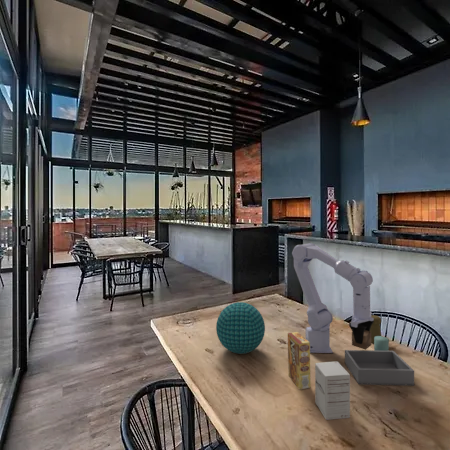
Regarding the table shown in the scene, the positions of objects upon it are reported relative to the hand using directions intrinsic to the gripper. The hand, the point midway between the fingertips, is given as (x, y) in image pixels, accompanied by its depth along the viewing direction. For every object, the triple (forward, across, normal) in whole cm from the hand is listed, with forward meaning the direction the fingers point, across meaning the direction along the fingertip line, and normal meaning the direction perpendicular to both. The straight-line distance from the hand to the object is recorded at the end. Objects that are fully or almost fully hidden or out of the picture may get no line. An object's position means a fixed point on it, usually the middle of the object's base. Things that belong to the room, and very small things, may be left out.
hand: (361, 340), depth 109 cm
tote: (+9, -3, -6) cm, 11 cm away
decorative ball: (+9, -23, +40) cm, 47 cm away
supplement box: (+9, -32, -4) cm, 33 cm away
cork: (+9, +23, +3) cm, 25 cm away
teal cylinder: (+9, +11, -3) cm, 15 cm away
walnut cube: (+2, 0, 0) cm, 2 cm away
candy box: (+9, -26, +11) cm, 29 cm away
